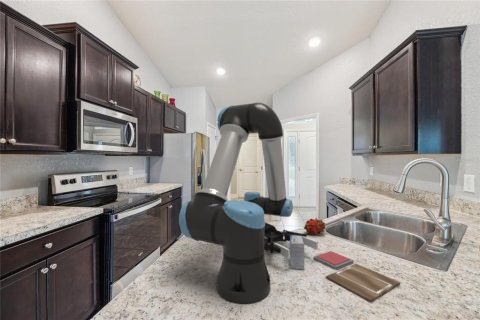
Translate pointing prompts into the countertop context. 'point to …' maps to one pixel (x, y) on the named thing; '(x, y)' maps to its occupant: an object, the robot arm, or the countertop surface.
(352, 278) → the cutting board
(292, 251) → the medicine box
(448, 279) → the countertop surface
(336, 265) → the ink pad
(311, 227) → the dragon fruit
